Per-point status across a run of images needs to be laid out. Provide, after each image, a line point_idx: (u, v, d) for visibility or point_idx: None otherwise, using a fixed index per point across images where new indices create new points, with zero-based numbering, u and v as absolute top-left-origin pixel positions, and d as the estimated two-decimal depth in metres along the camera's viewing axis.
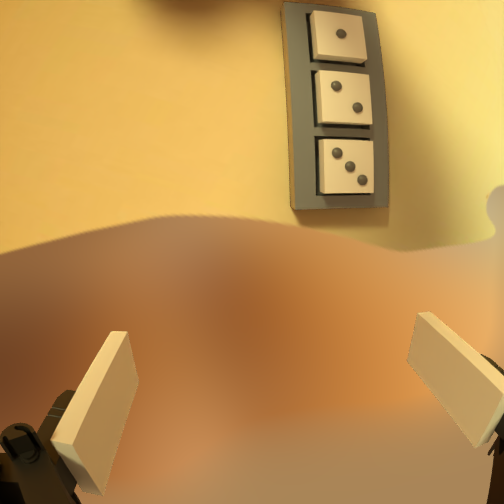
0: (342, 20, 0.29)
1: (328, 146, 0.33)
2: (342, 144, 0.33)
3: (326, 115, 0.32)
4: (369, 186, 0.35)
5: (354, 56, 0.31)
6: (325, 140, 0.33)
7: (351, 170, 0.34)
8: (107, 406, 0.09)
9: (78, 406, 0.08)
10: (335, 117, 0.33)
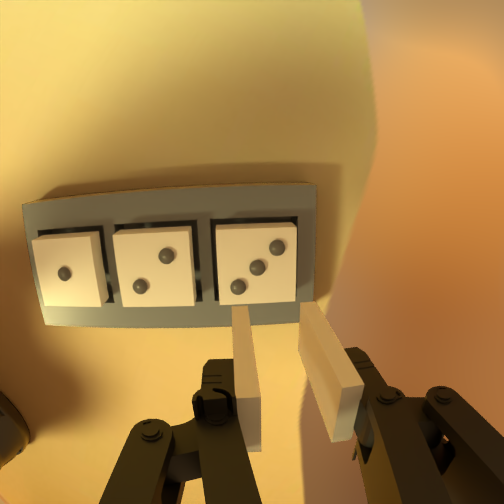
0: (45, 269, 0.24)
1: (229, 298, 0.25)
2: (225, 278, 0.25)
3: (185, 300, 0.25)
4: (286, 233, 0.24)
5: (90, 256, 0.24)
6: (221, 302, 0.25)
7: (263, 265, 0.25)
8: None
9: (245, 366, 0.10)
10: (186, 288, 0.25)
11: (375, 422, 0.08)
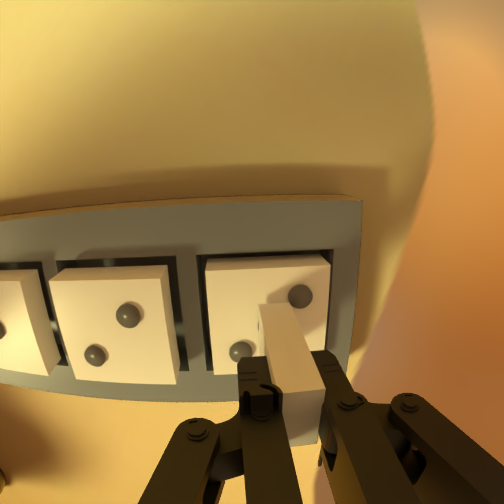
0: None
1: (228, 366, 0.17)
2: (221, 341, 0.16)
3: (162, 377, 0.16)
4: (314, 275, 0.16)
5: (24, 309, 0.14)
6: (216, 371, 0.17)
7: None
8: None
9: (282, 362, 0.11)
10: (161, 361, 0.15)
11: (337, 430, 0.08)
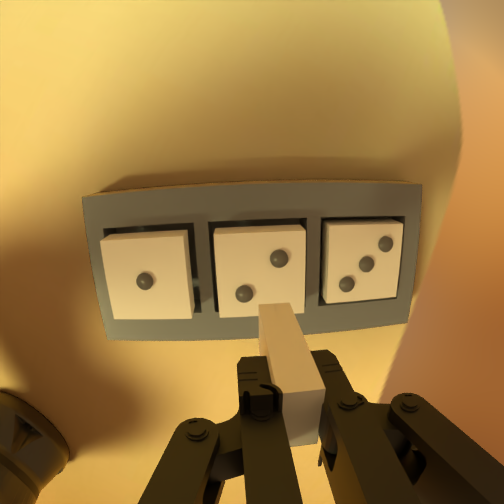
0: (118, 276, 0.21)
1: (337, 296, 0.24)
2: (334, 276, 0.24)
3: (294, 307, 0.23)
4: (394, 230, 0.23)
5: (183, 260, 0.21)
6: (328, 300, 0.24)
7: (372, 262, 0.23)
8: None
9: (282, 362, 0.11)
10: (297, 293, 0.22)
11: (337, 430, 0.08)
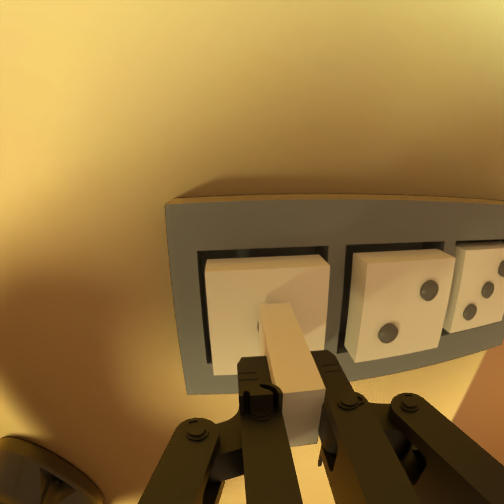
0: (229, 320, 0.16)
1: (459, 324, 0.19)
2: (461, 304, 0.19)
3: (431, 342, 0.18)
4: None
5: (325, 296, 0.16)
6: (451, 330, 0.19)
7: (492, 287, 0.18)
8: None
9: (282, 362, 0.11)
10: (436, 327, 0.17)
11: (337, 429, 0.08)
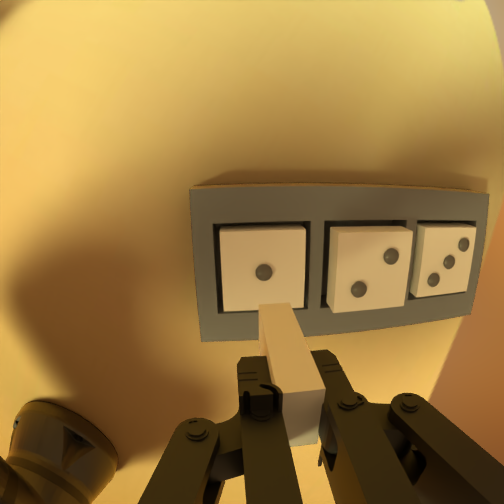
0: (235, 267, 0.23)
1: (424, 290, 0.25)
2: (425, 272, 0.24)
3: (397, 301, 0.23)
4: (469, 233, 0.24)
5: (303, 251, 0.23)
6: (418, 294, 0.25)
7: (453, 260, 0.24)
8: None
9: (282, 362, 0.11)
10: (400, 288, 0.23)
11: (337, 429, 0.08)
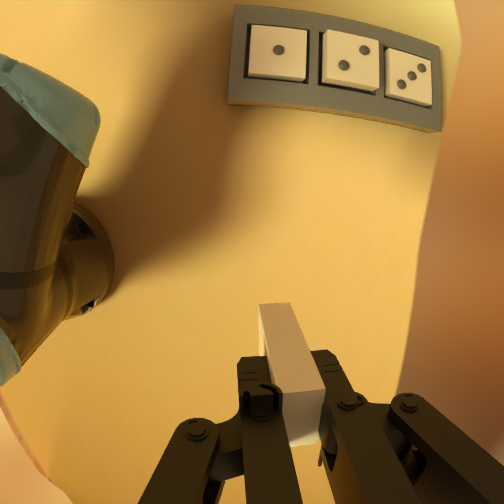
0: (260, 45, 0.29)
1: (396, 90, 0.31)
2: (394, 77, 0.31)
3: (373, 82, 0.30)
4: (425, 62, 0.30)
5: (305, 42, 0.29)
6: (391, 91, 0.31)
7: (415, 75, 0.30)
8: None
9: (282, 362, 0.11)
10: (374, 74, 0.29)
11: (337, 429, 0.08)
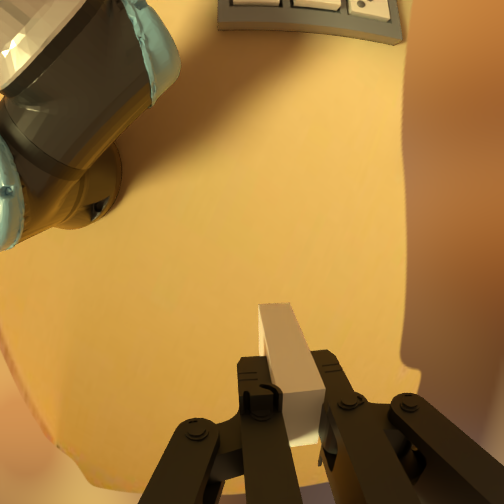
0: None
1: (356, 8, 0.33)
2: None
3: (336, 1, 0.32)
4: None
5: None
6: (352, 9, 0.33)
7: None
8: None
9: (282, 362, 0.11)
10: None
11: (337, 429, 0.08)
